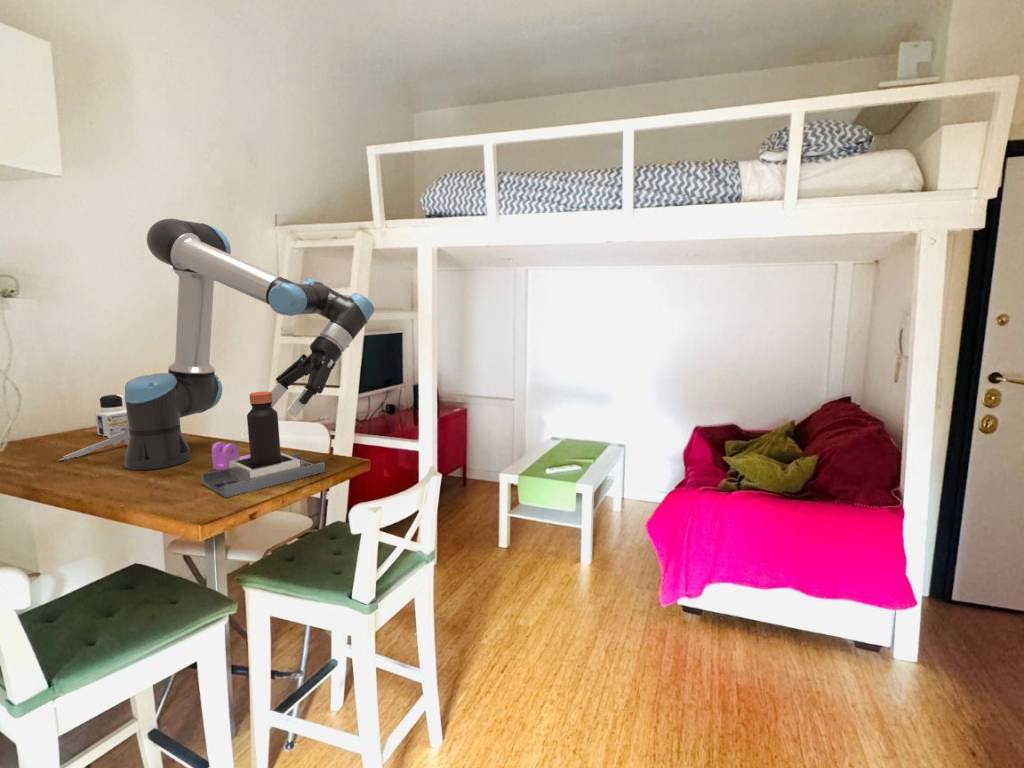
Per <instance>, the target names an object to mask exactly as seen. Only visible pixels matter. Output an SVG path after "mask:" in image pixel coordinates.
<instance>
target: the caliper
mask: <svg viewBox="0 0 1024 768" xmlns="http://www.w3.org/2000/svg"><path fill="white" fill-rule="evenodd" d="M124 429H125V432H121V433H118V434H116V435H113V436H111V437H107V438H108V439H104V440H102V441H100V442H97V443H94V444H92V445H89V446H87V447H84V448H81V449H79V450H76V451H74V452H71V453H68V454H66V455H64V456H62V458H60V459H59V460H64V459H69V458H74V457H77V458H79V457H82V456H84V455H87V454H89V453H91V452H94V451H97V450H99V449H102V448H104V447H107V446H109V445H110V446H113V447H115V446H116V445H119V444H120V443H121V442H123V443H124V444H125V445H126V446H127V447H128V443H129V439H130V433H129V426H128V429H127V428H124ZM74 459H75V458H74ZM64 461H65V460H64Z"/></svg>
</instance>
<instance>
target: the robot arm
mask: <svg viewBox="0 0 1024 768" xmlns="http://www.w3.org/2000/svg"><path fill="white" fill-rule="evenodd" d="M228 239H229V238H228V237H227V236H226V235H225V234H224V232H223V231H222V230H221V229H219V228H218V227H215V226H212V225H208V224H205V223H202V222H194V221H188V220H182V219H178V218H177V219H176V218H164V219H161V220H159V221H157V222H155V223H154V224H152V225H151V226H150V228H149V230H148V231H147V234H146V243H147V248H148V249H149V252H150V253H151V254H152V256H153V257H155V259H157V260H159V261H160V262H162V263H165V264H166V265H169V266H172V271H173V272H174V273H175V274H176V275H177V276H178V285H177V286H178V287H177V289H178V290H177V314H176V333H175V334H176V335H175V354H174V355H175V360H174V362H173V363H171V364H170V365H169V366H168V372H162V373H152V374H146V375H145V374H144V375H141V376H138V377H134V378H131V379H130V380H128V381H126V383H125V385H124V399H125V409H126V410H127V417H128V425H129V433H130V437H129V438H128V439H129V443H128V446H127V449H126V450H125V454H124V466H125V468H126V469H128V470H133V471H145V470H146V471H147V470H149V471H151V470H157V469H164V468H170V467H173V466H174V467H175V466H178V465H180V464H183V463H186V462H188V461H190V460H191V459H192V454H191V448H190V447H189V445H188V442H187V441H186V439H185V437H184V435H183V433H182V430H181V429H182V428H181V420H180V418H184V417H188V416H191V415H194V414H195V415H197V414H201V413H204V412H206V411H208V410H211V409H213V408H214V407H215V406H217V405H218V403H219V402H220V401H221V398H222V396H223V385H222V382H221V380H220V379H219V377H218V376H217V374H215V373H216V370H215V367H214V366H212V365H211V363H210V359H211V357H210V356H211V341H212V340H211V338H212V336H211V335H212V324H213V323H212V320H213V302H214V289H215V288H214V287H215V285H214V284H215V282H217V283H220V284H222V285H224V286H227V287H229V288H231V289H233V290H236V291H238V292H240V293H241V294H244V295H246V296H249V297H251V298H254V299H255V300H258V301H259V302H262V303H265V304H266V305H269V306H270V308H271V309H272V310H273V311H274V312H275V313H276V314H278V315H281V316H282V315H283V316H290V317H292V316H298V315H300V316H301V315H312V314H313V315H314V314H315V315H320V316H322V317H323V318H325V319H327V320H328V322H327V324H325V326H324V327H323V329H321V331H320V332H319V336H316V338H314V340H313V342H311V343H310V345H309V349H310V351H311V353H310V354H309V355H306V354H305V353H303V354H302V355H301V356H300V357H299V358H298V359H297V360H296V361H295V362H293V363H292V364H291V365H290V366H289V367H287V368H286V369H285V370H284V371H283V372H281V374H279V375H278V376H277V377H276V378H275V380H276V381H277V383H276V384H275V386H274V387H273V388H272V390H270V392H272V404H271V407H272V408H273V409H274V407H275V406H276V404H278V403H277V402H279V400H280V399H281V397H283V396H284V394H285V393H286V391H288V390H289V387H290V386H291V385H292V384H294V383H295V382H297V381H298V380H300V379H302V377H304V376H308V381H307V384H305V385H304V388H302V389H301V390H300V392H299V394H298V395H297V396H296V397H295V398H294V400H293V401H292V402H291V403H290V405H289V406H288V407H287V408H286V412H288V413H290V414H291V416H293V417H295V418H297V417H298V415H299V414H300V413H301V411H302V410H303V409H304V408H305V407H306V405H307V404H308V403H309V401H310V400H311V399H312V398H313V396H316V394H319V395H320V394H322V393H323V391H324V389H325V386H326V384H327V381H328V379H329V378H330V374H331V372H332V371H333V369H334V368H335V366H336V364H337V361H338V360H339V358H340V357H341V356H342V355H343V354H342V352H344V353H345V350H346V349H347V348H349V347H350V345H351V343H352V342H353V341H354V339H355V338H356V336H358V334H359V333H360V332H361V331H362V329H363V328H364V327H365V326H366V324H368V322H369V320H370V319H371V317H372V316H373V314H374V313H375V307H374V304H373V303H372V302H371V300H370V299H369V298H368V297H366V295H363V294H362V293H357V292H353V293H352V294H351V295H349V296H345V295H344V294H343V295H342V294H341V293H339V292H337V291H335V290H334V289H332V288H330V287H329V286H327V285H325V284H324V283H323V282H321V281H317V280H316V279H313V278H306V279H305V280H302V282H301V283H299V284H298V283H296V282H294V281H291V280H289V279H286V278H285V277H284V278H283V277H282V276H280V275H278V274H275V273H273V272H271V271H269V270H268V269H267V270H266V269H264V268H261V267H260V266H259V265H255V264H253V263H251V262H248V261H246V260H244V259H241V258H239V257H237V256H235V255H233V254H232V252H231V251H232V249H231V243H230V242H229V241H230V240H228Z"/></svg>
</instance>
